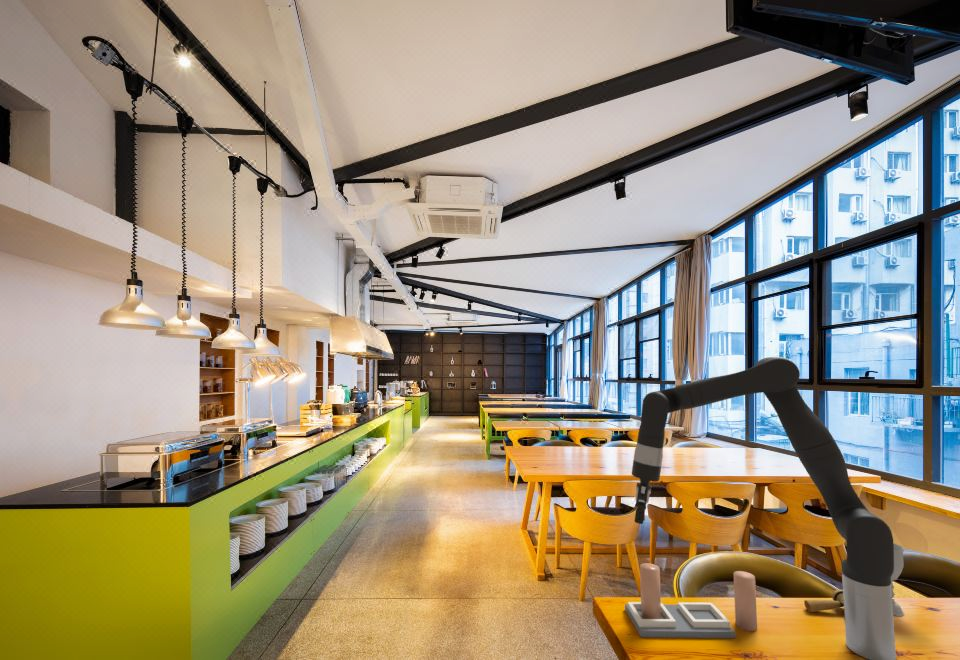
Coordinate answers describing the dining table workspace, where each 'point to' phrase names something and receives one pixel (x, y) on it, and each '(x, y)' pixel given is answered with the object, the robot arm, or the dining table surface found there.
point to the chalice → (897, 571)
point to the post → (745, 601)
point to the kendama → (826, 602)
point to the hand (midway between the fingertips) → (639, 519)
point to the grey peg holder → (673, 613)
